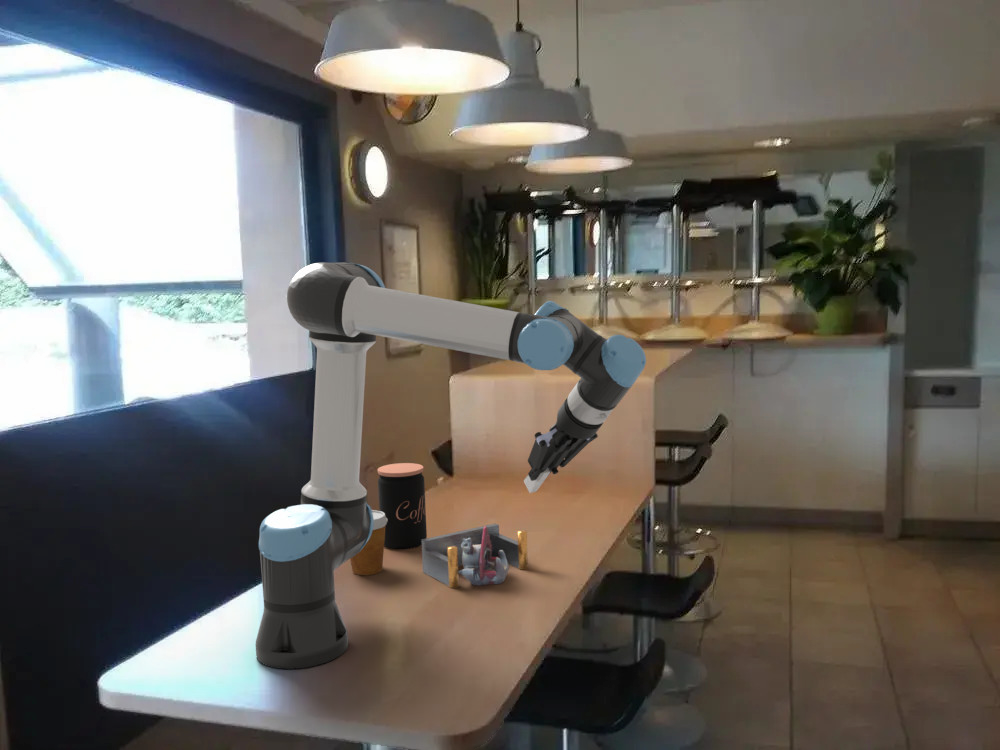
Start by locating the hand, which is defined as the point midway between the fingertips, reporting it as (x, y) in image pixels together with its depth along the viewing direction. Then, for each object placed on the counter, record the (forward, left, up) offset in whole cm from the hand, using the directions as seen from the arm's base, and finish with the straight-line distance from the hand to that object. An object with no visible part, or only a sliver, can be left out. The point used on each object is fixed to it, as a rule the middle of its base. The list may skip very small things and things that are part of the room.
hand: (529, 486), depth 165 cm
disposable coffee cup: (-18, +35, -22) cm, 45 cm away
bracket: (0, +20, -22) cm, 30 cm away
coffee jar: (-3, +47, -22) cm, 52 cm away
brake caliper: (-1, +15, -22) cm, 27 cm away
